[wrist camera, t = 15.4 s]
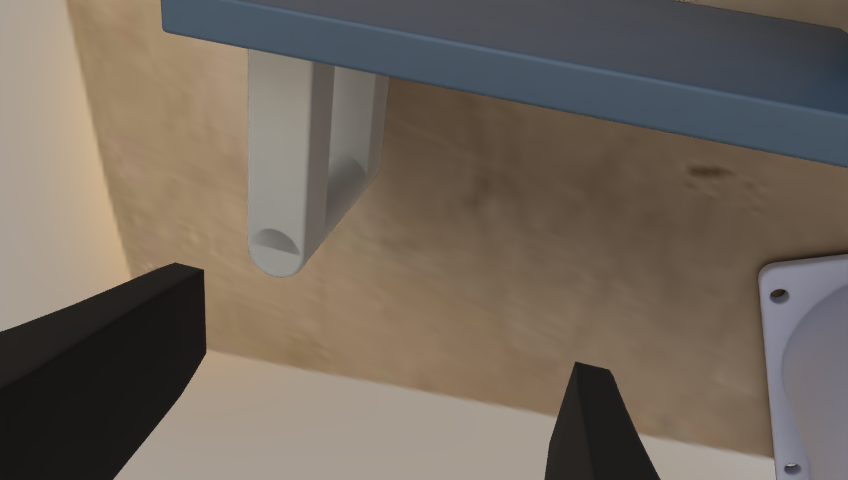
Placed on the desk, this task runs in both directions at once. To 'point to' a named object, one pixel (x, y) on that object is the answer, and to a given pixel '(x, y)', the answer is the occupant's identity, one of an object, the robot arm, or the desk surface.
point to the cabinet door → (503, 84)
